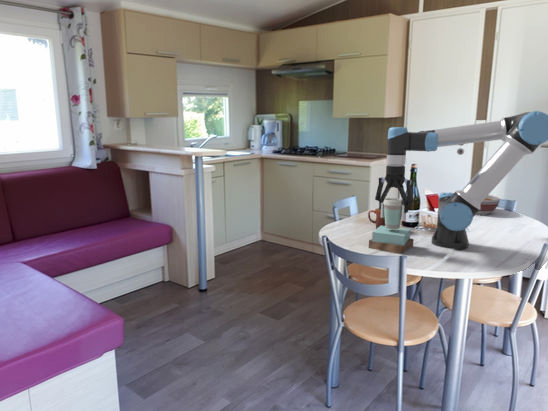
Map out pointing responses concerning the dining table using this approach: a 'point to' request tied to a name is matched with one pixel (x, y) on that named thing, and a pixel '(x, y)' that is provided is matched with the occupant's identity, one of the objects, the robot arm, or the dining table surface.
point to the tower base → (391, 246)
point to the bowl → (488, 205)
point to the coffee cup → (393, 212)
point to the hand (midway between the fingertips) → (392, 218)
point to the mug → (377, 218)
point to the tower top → (391, 235)
